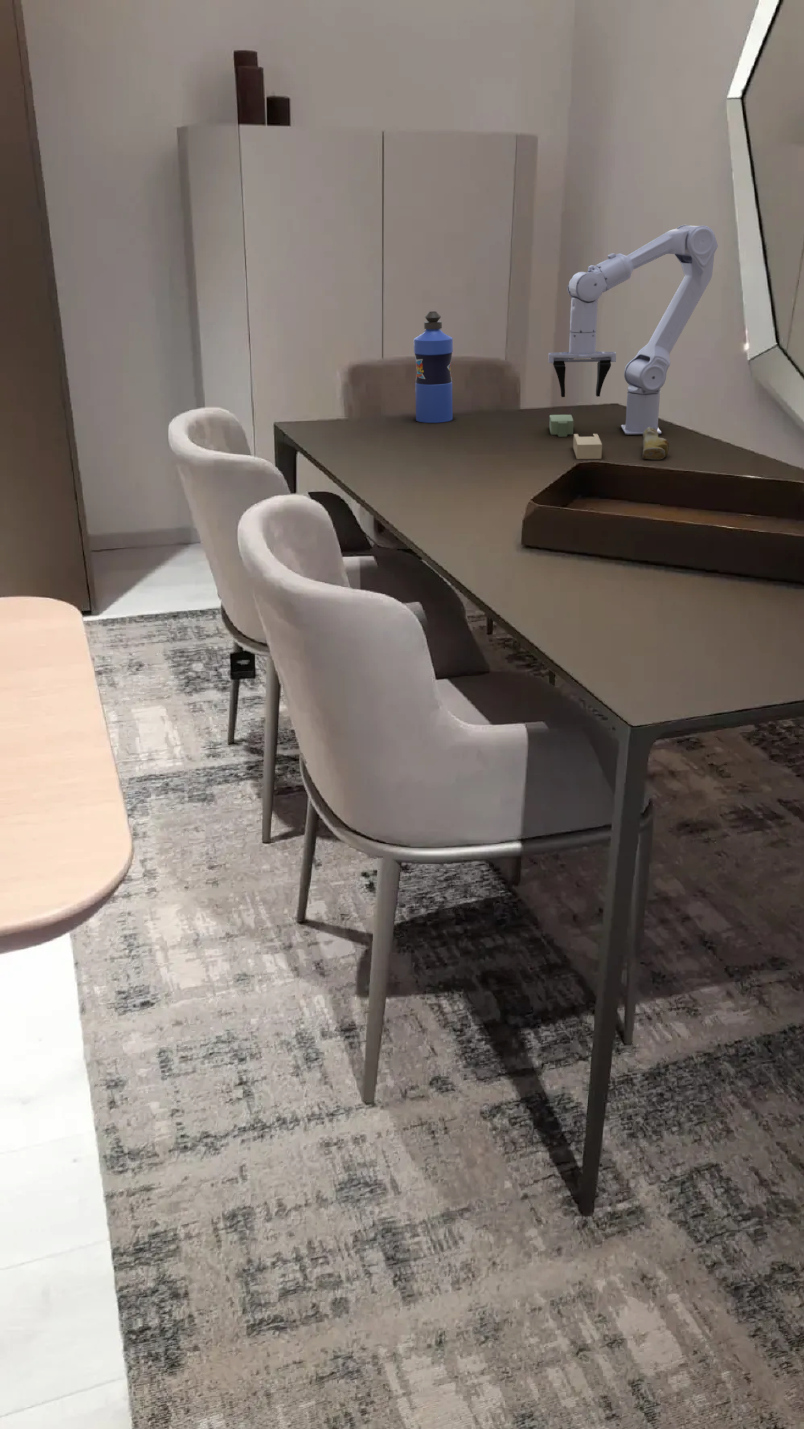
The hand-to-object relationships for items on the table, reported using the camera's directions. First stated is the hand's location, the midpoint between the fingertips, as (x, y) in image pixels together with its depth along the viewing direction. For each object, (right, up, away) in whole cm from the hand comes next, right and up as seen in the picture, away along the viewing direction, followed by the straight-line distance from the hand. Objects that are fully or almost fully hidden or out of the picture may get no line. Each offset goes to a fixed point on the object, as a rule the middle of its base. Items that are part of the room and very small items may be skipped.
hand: (580, 396), depth 244 cm
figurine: (+13, -16, -14) cm, 25 cm away
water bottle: (-32, +2, +27) cm, 42 cm away
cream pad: (-1, -16, -13) cm, 20 cm away
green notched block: (-3, -6, +8) cm, 11 cm away
